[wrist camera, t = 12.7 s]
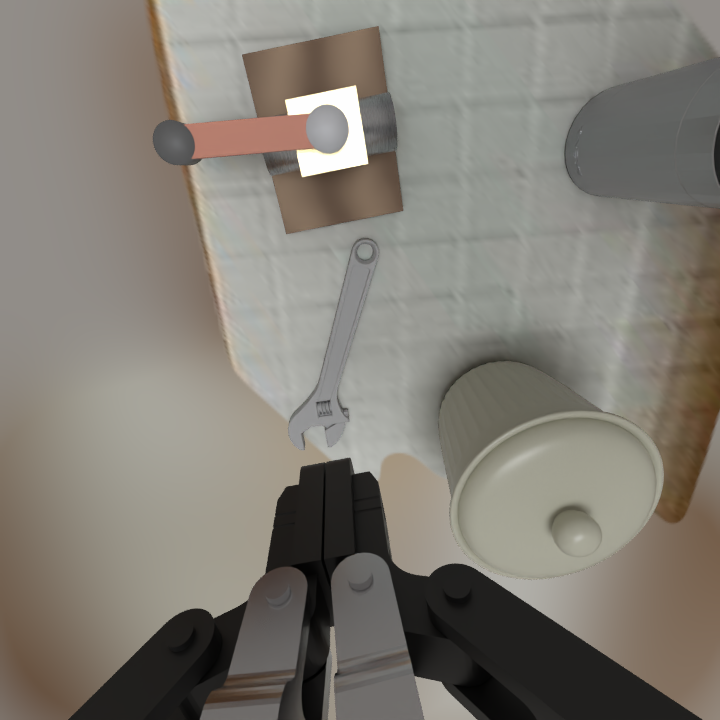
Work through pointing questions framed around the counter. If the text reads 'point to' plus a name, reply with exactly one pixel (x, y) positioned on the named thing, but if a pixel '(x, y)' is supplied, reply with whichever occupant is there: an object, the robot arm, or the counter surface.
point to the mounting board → (316, 75)
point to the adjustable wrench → (336, 355)
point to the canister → (541, 473)
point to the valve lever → (252, 136)
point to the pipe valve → (366, 135)
